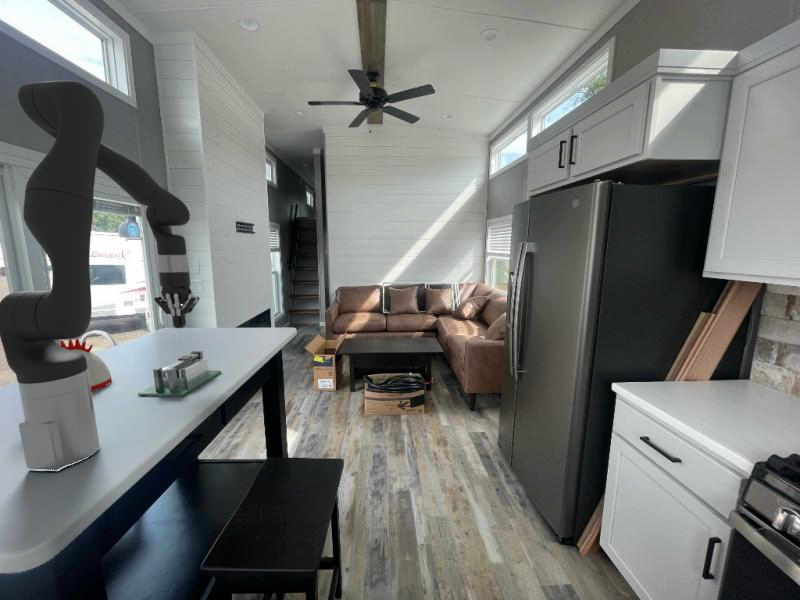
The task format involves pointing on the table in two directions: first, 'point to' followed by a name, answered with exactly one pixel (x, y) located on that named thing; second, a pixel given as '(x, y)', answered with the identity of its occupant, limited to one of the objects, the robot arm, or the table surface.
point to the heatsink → (181, 378)
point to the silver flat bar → (179, 362)
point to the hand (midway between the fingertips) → (180, 327)
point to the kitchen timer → (91, 364)
